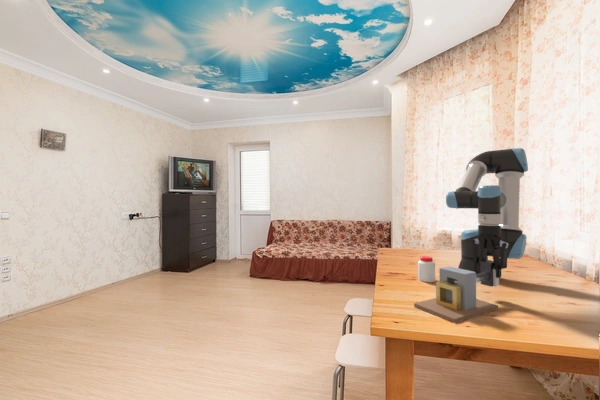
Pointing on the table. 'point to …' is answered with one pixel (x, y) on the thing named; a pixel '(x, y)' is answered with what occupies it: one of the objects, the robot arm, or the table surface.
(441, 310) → the bearing block
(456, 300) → the frame
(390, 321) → the table surface
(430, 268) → the pill bottle
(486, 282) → the shaft
